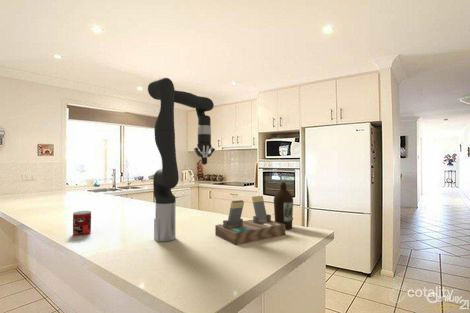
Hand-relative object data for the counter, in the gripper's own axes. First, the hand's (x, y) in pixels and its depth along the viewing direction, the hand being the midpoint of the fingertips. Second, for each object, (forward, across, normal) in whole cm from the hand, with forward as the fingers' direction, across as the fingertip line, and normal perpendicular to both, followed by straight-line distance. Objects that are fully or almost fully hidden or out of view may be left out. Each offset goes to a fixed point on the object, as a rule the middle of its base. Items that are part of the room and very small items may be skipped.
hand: (204, 164), depth 149 cm
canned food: (+35, -59, +20) cm, 72 cm away
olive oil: (+35, +36, -26) cm, 57 cm away
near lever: (+29, +3, -26) cm, 39 cm away
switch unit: (+35, +12, -28) cm, 46 cm away
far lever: (+29, +21, -26) cm, 44 cm away
